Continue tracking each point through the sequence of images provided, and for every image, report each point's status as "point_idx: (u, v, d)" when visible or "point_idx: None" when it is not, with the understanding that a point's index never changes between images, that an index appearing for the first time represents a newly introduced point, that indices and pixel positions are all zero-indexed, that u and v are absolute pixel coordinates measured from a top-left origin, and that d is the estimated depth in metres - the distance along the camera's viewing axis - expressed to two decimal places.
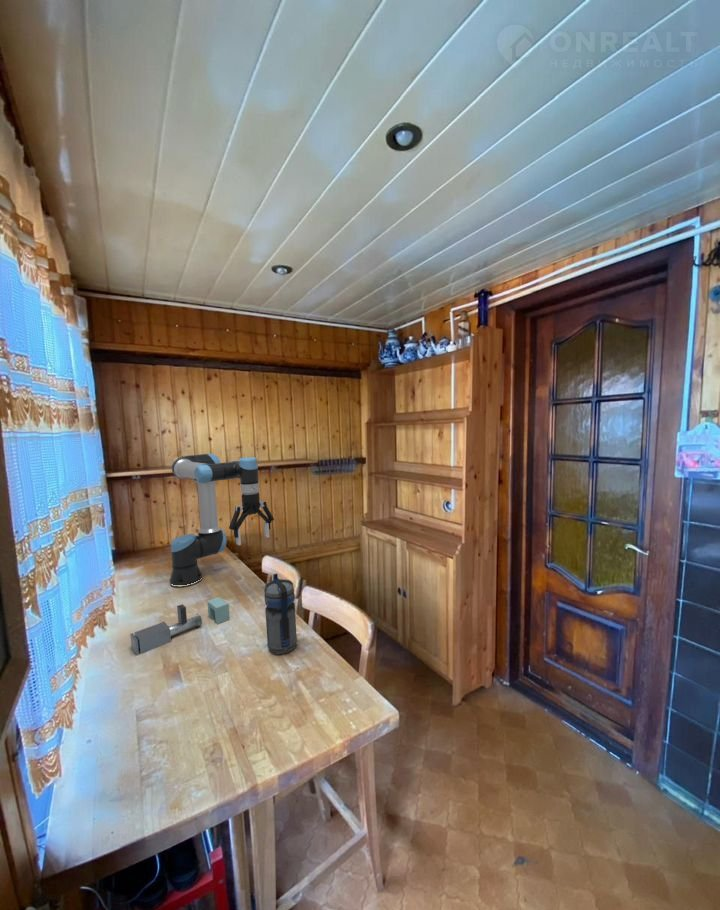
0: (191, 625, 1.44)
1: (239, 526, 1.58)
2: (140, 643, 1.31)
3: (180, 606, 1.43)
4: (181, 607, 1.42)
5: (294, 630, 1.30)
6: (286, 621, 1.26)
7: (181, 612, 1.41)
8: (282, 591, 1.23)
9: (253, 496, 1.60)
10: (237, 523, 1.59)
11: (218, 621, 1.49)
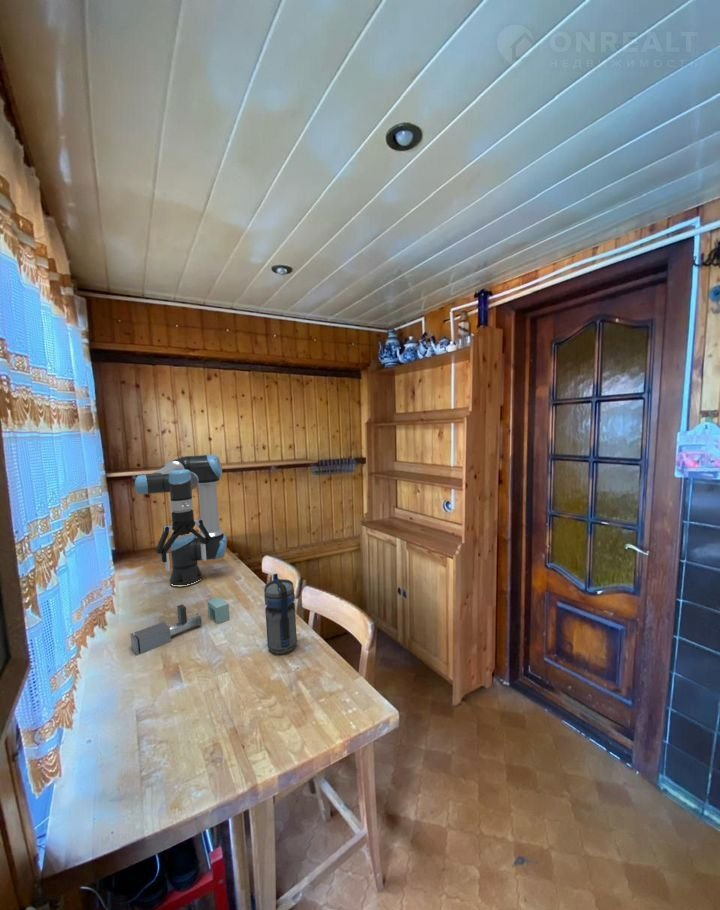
0: (191, 625, 1.44)
1: (168, 549, 1.38)
2: (140, 643, 1.31)
3: (180, 606, 1.43)
4: (181, 607, 1.42)
5: (294, 630, 1.30)
6: (286, 621, 1.26)
7: (181, 612, 1.41)
8: (282, 591, 1.23)
9: (184, 514, 1.39)
10: (166, 545, 1.38)
11: (218, 621, 1.49)
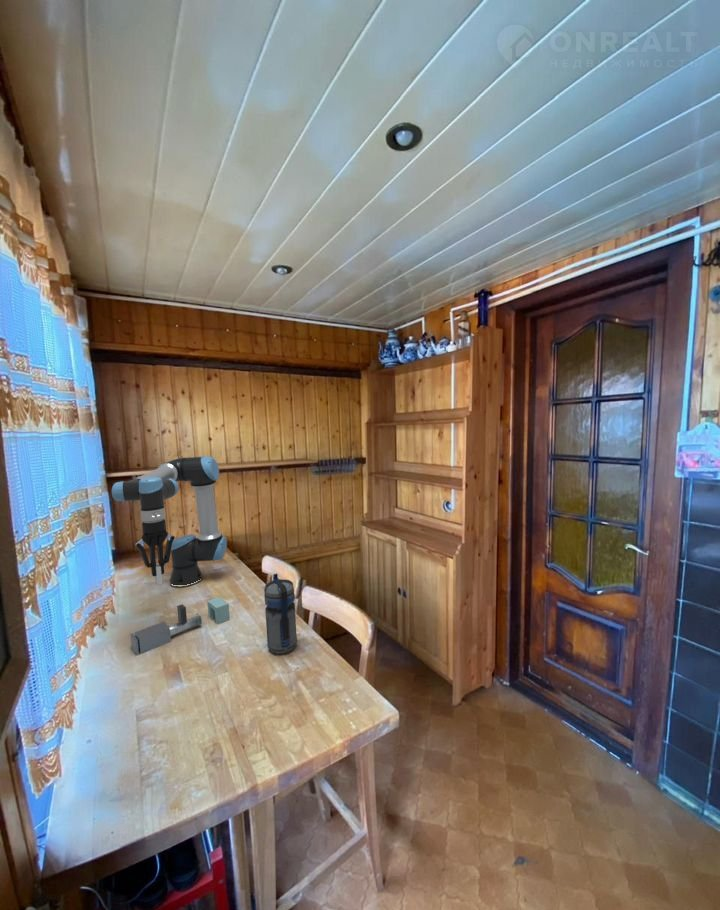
0: (191, 625, 1.44)
1: (155, 562, 1.35)
2: (140, 643, 1.31)
3: (180, 606, 1.43)
4: (181, 607, 1.42)
5: (294, 630, 1.30)
6: (286, 621, 1.26)
7: (181, 612, 1.41)
8: (282, 591, 1.23)
9: (155, 525, 1.32)
10: (151, 559, 1.35)
11: (218, 621, 1.49)
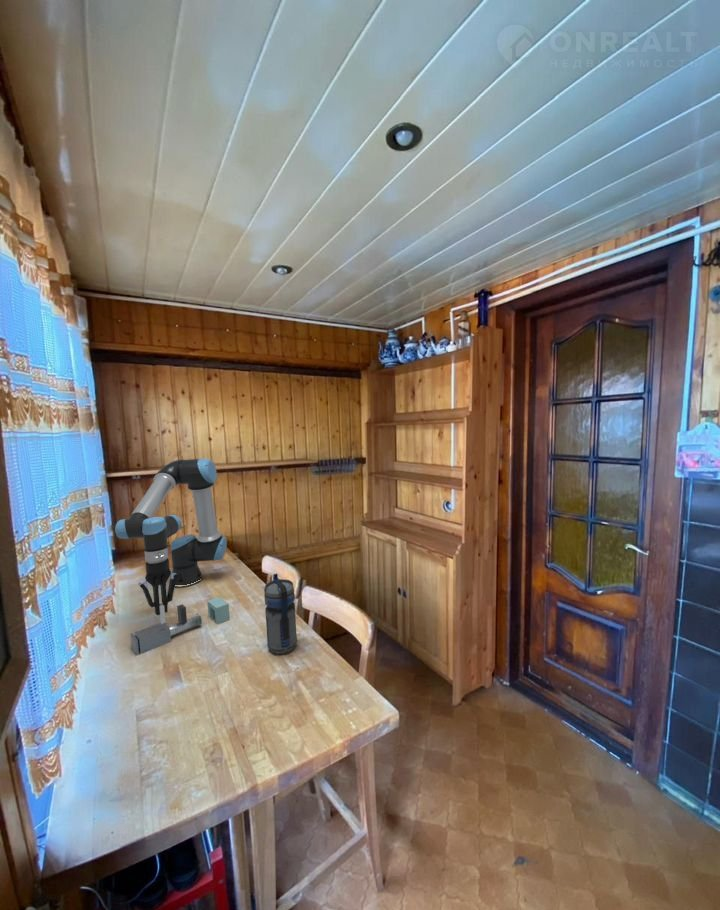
0: (191, 625, 1.44)
1: (158, 601, 1.36)
2: (140, 643, 1.31)
3: (180, 606, 1.43)
4: (181, 607, 1.42)
5: (294, 630, 1.30)
6: (286, 621, 1.26)
7: (181, 612, 1.41)
8: (282, 591, 1.23)
9: (158, 565, 1.34)
10: (154, 599, 1.36)
11: (218, 621, 1.49)
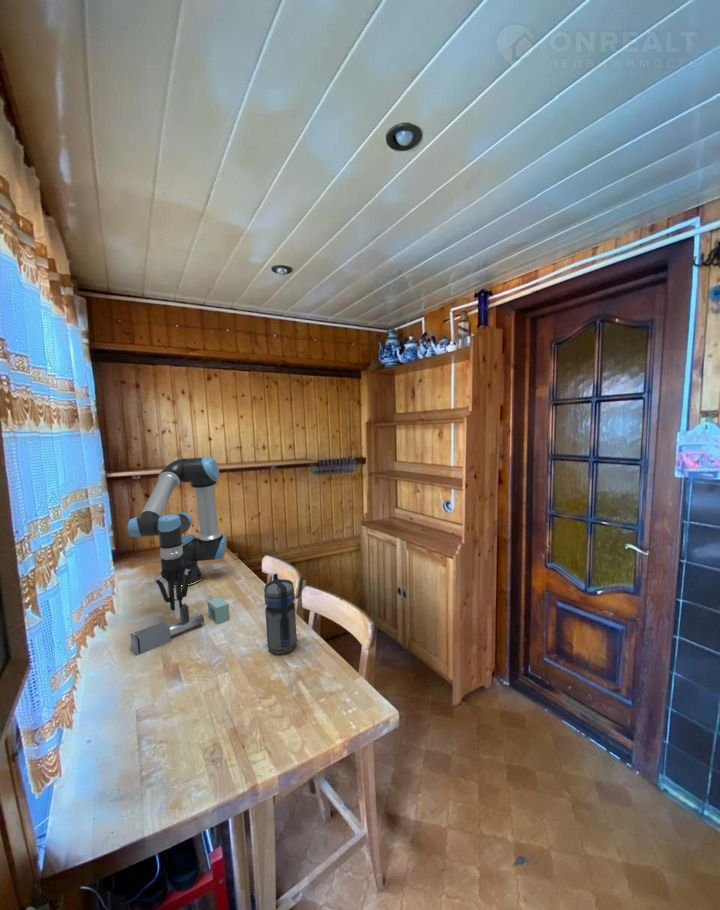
0: (193, 624, 1.45)
1: (173, 596, 1.40)
2: (140, 643, 1.31)
3: (182, 605, 1.44)
4: (183, 606, 1.43)
5: (294, 630, 1.30)
6: (286, 621, 1.26)
7: (183, 611, 1.42)
8: (282, 591, 1.23)
9: (174, 561, 1.37)
10: (169, 594, 1.40)
11: (218, 621, 1.49)
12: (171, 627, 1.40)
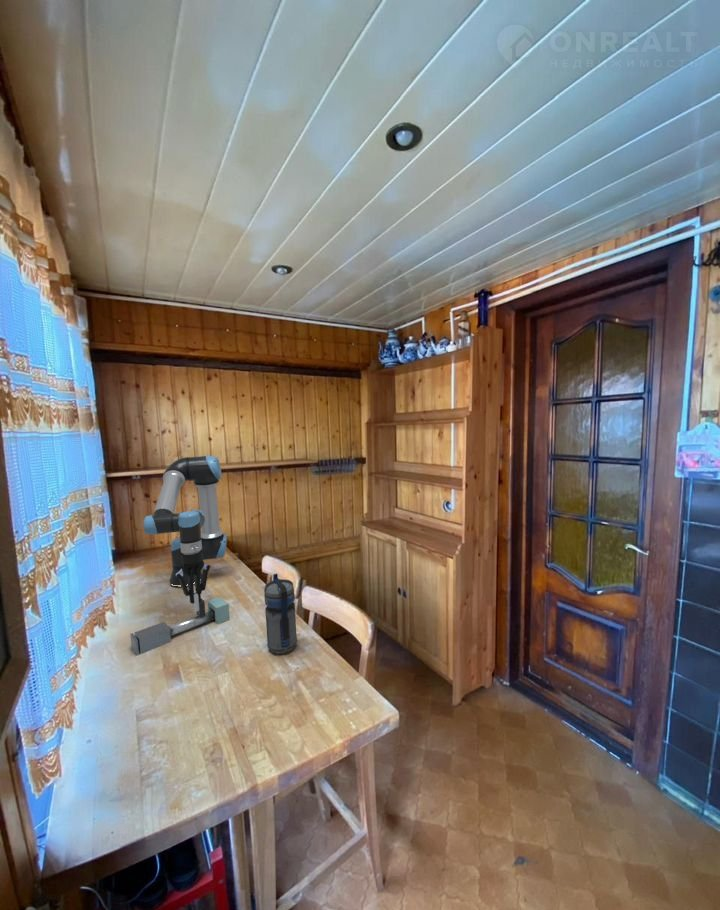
0: (209, 618, 1.49)
1: (193, 590, 1.45)
2: (140, 643, 1.31)
3: None
4: None
5: (294, 630, 1.30)
6: (286, 621, 1.26)
7: (200, 605, 1.46)
8: (282, 591, 1.23)
9: (194, 556, 1.42)
10: (189, 588, 1.45)
11: (218, 621, 1.49)
12: (188, 621, 1.44)
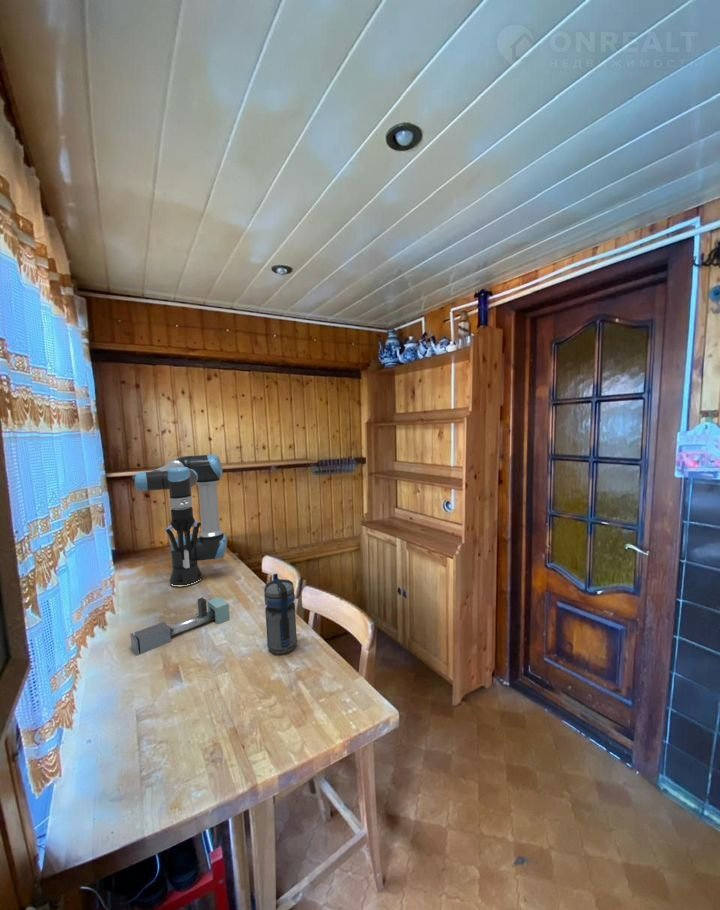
0: (211, 617, 1.49)
1: (183, 546, 1.43)
2: (140, 643, 1.31)
3: (200, 599, 1.49)
4: (201, 600, 1.48)
5: (294, 630, 1.30)
6: (286, 621, 1.26)
7: (202, 605, 1.47)
8: (282, 591, 1.23)
9: (183, 511, 1.40)
10: (179, 544, 1.43)
11: (218, 621, 1.49)
12: (190, 620, 1.45)
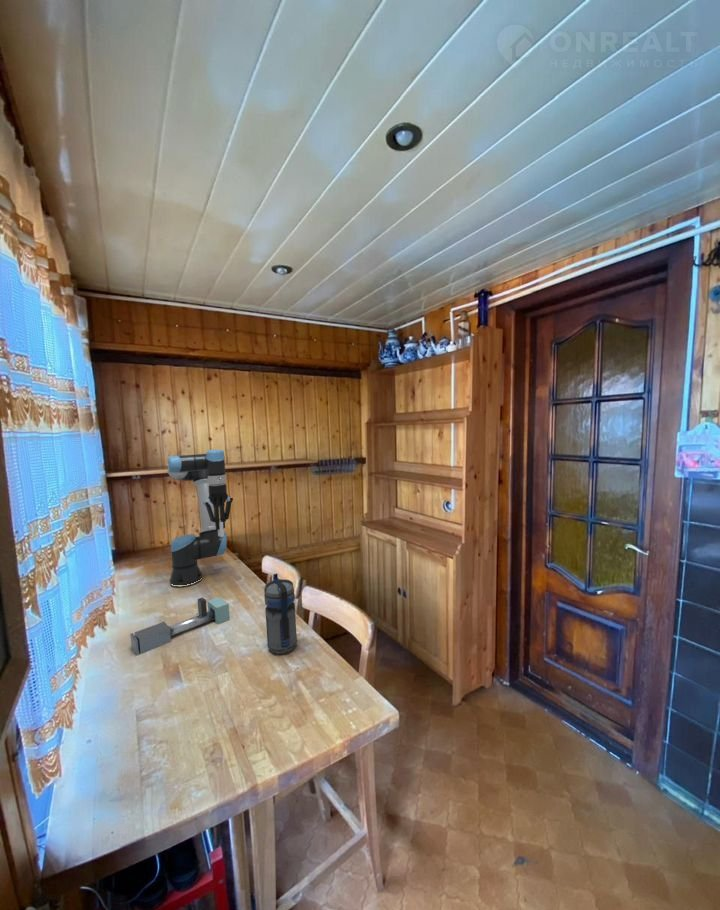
0: (211, 617, 1.49)
1: (218, 518, 1.66)
2: (140, 643, 1.31)
3: (200, 599, 1.49)
4: (201, 600, 1.48)
5: (294, 630, 1.30)
6: (286, 621, 1.26)
7: (202, 605, 1.47)
8: (282, 591, 1.23)
9: (219, 487, 1.64)
10: (215, 516, 1.66)
11: (218, 621, 1.49)
12: (190, 620, 1.45)
